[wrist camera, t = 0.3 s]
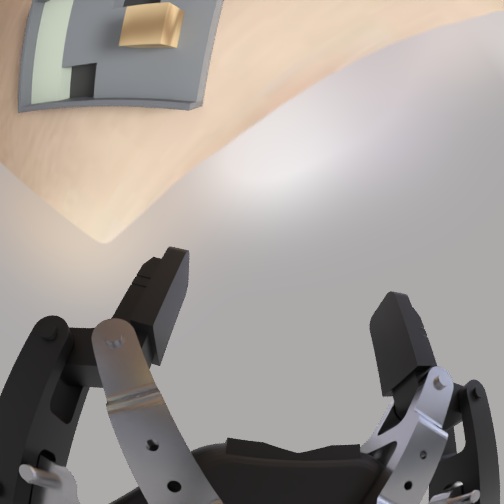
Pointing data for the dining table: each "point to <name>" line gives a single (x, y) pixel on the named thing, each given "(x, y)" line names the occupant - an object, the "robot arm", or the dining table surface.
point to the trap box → (112, 57)
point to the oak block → (152, 26)
